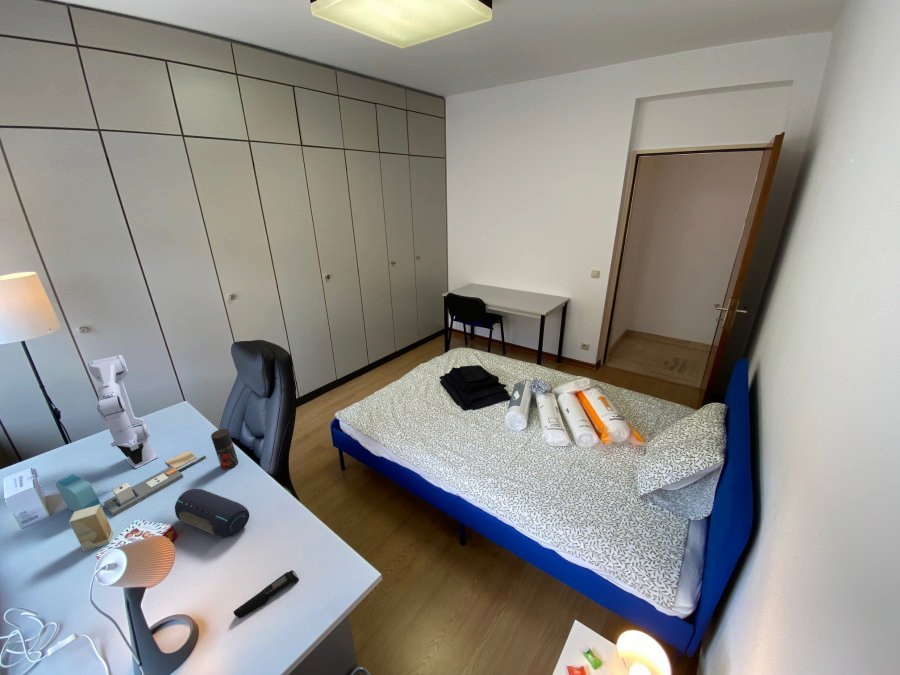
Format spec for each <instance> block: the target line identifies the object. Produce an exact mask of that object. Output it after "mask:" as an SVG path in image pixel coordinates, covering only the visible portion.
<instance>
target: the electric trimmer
mask: <svg viewBox="0 0 900 675" xmlns="http://www.w3.org/2000/svg"><path fill="white" fill-rule="evenodd" d="M298 581H299V577H298V575H297V574H296V572H295V571H294V570H292V569H290V570H289V571H287V572H285V573H284V574H282V575H281V576H279V577H278V578H277V579H275V580H274V581H273V582H271V583H270V584H268V585H266V587H264V588H263V589H261V591H259V592H258V593H257V594H255V595H253V597H251V598H250V599H248V600H247V601H246V602H244V603H243V604H241V605H240V606H239V607H237V608H236V609H235V610H234V611H232V612H233V614H234V616H236V618H238V619H242V618H244V617H245V616H248V615H249V614H250V613H253V612H254V611H256V610H258V609H260V608H261V607H263V606H264V605H267V603H268V602H269V600H270V599H271V598H272V597H274V596H275V595H277V594H279V592H281V591H282V590H284V589H285V588H287V587H288V586H289V585H292V584H296V583H297V582H298Z"/></svg>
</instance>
